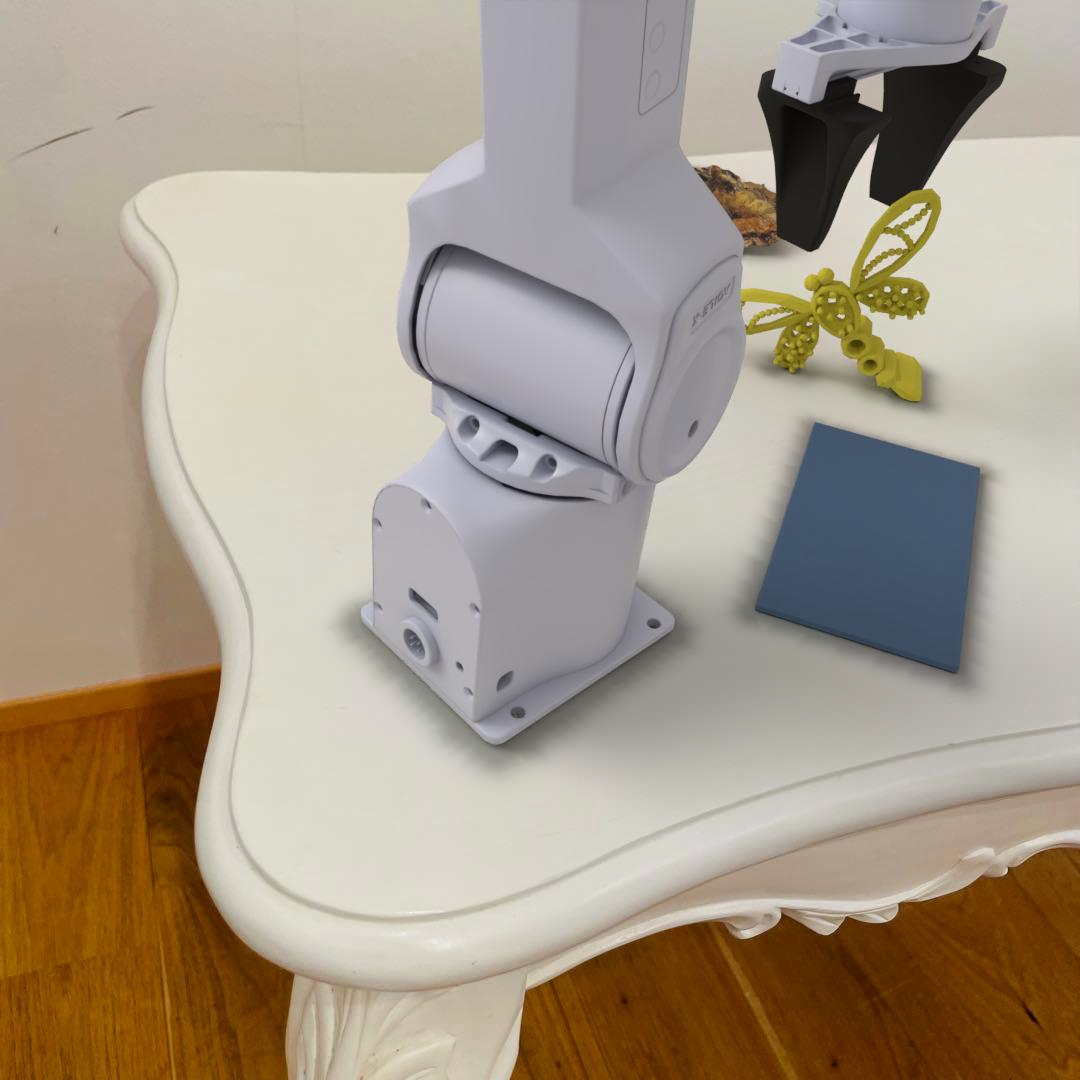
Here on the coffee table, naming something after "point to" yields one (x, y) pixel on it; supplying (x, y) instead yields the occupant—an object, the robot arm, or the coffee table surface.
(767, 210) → the crusty food piece
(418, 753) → the coffee table surface
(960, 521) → the blue rectangular board
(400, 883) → the coffee table surface
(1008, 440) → the coffee table surface
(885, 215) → the decorative insect
